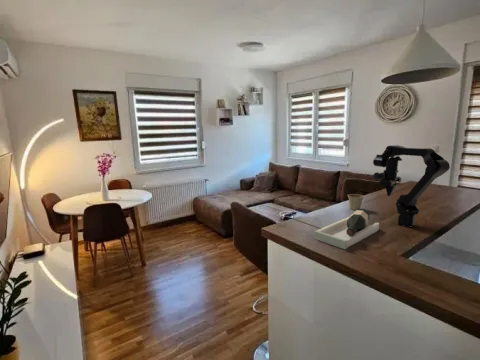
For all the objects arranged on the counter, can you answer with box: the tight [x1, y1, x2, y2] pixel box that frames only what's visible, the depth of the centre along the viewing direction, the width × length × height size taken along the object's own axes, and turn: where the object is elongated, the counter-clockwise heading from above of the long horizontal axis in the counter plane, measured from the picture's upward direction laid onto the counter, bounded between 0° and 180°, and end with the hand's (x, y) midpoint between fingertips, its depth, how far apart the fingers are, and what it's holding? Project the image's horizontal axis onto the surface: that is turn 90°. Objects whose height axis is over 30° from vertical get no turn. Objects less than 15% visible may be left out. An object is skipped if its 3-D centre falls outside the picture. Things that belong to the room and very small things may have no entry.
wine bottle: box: [346, 208, 370, 236], centre depth 129 cm, size 8×8×30 cm
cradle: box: [313, 216, 380, 250], centre depth 129 cm, size 15×34×4 cm, turn 131°
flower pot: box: [347, 193, 365, 211], centre depth 169 cm, size 9×9×9 cm
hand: (388, 196), depth 150 cm, fingers closed
